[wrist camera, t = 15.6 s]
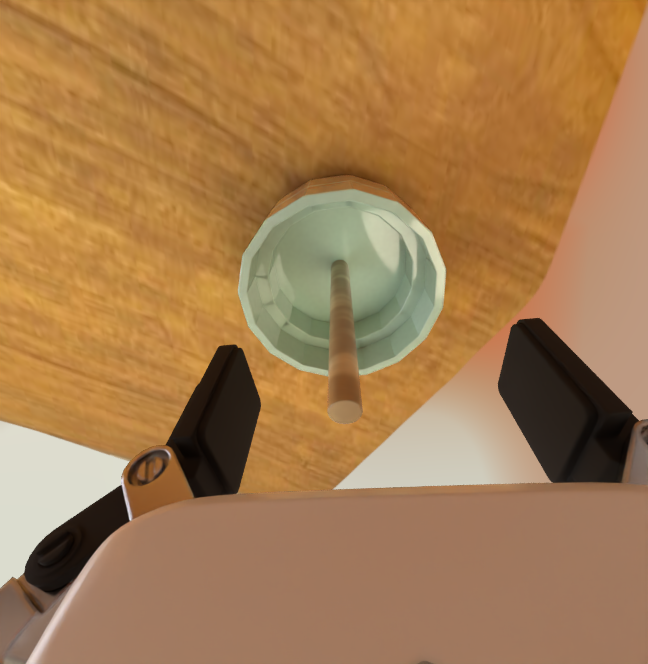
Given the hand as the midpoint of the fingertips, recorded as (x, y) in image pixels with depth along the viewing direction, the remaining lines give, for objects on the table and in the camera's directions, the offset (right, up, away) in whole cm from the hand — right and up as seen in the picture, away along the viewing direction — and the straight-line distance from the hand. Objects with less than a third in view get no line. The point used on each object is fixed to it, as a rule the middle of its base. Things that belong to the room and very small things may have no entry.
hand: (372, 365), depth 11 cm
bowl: (0, +7, +14) cm, 16 cm away
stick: (0, +6, +14) cm, 15 cm away
